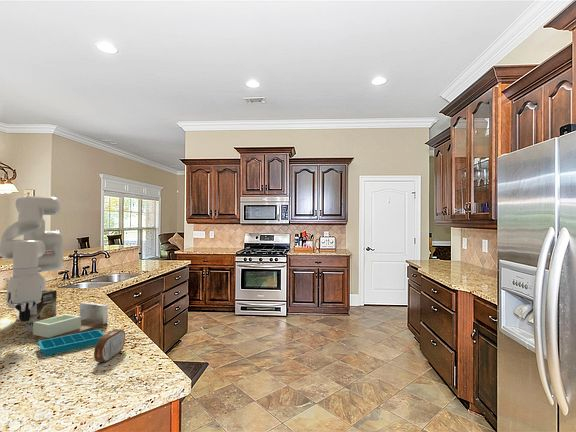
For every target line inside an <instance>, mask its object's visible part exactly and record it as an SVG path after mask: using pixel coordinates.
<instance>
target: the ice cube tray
mask: <svg viewBox="0 0 576 432" xmlns="http://www.w3.org/2000/svg"><path fill="white" fill-rule="evenodd" d="M105 334H106V333H104V332H103V331H102V330H101V329H93V330H90V331H87V332H82V333H77V334H72V335H67V336H62V337H57V338H51V339H46V340H38V341H37V344H38V346H39V348H40V351H41V352H42V355H43V356H53V355H57V354H62V353H65V352H70V351H74V350H78V349H83V348H89V347H93V346H96V344H97V342H98V340H99V339H100V338H101V337H102V336H103V335H105Z"/></svg>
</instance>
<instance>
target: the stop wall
mask: <svg viewBox="0 0 576 432" xmlns="http://www.w3.org/2000/svg"><path fill="white" fill-rule="evenodd" d="M108 315H109V311H108V304H104V303H103V304H102V303H94V302H87V301H82V302H79V316H81V320H82V321H88V322H94V323H100V324H105V323H107V324H108V317H109V316H108Z"/></svg>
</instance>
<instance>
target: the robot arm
mask: <svg viewBox="0 0 576 432" xmlns="http://www.w3.org/2000/svg"><path fill="white" fill-rule="evenodd" d="M14 204H15V209H16V210H17V213H18V217H17V221H15V222H13V223H12V224H11V225H10V226H8V227H7V228H6V229H5V230H4V231H3V232H2V233H1V234H2V235H1V238H0V257H1V258H2V259H4V260H12V276H10V278H9V280H8V283H7V289H6V295H5V296H6V297H5V301H6V304H7V308H8V309H15V310H17V311H18V316H17V317H16V319H17V320H18V321H19V322H22V323H24V322H25V323H26V321H29V320H30V310H31V309H32V307H33V306H34V305H35V304H37V303H40V302H41V297H42V291H45V290H47V288H46V287H47V284H46V283H47V280H46V278H45V277H44V276H43V274H41V273H43V272H44V273H45V272H56V271H60V270H62V269H63V266H64V237H63V233H61V232H60V231H58V230H46V220H45V219H44V216H58V215H59V214H60V213H61V209H62V205H61V204H62V203H61V201H60V199H59V197H55V196H39V195H36V196H35V195H33V196H32V195H31V196H30V195H29V196H21V197H18V198H16V199H15V203H14ZM21 236H23V239H16V238H18V237H21ZM46 251H48V252H46ZM49 251H52V252H49Z"/></svg>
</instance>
